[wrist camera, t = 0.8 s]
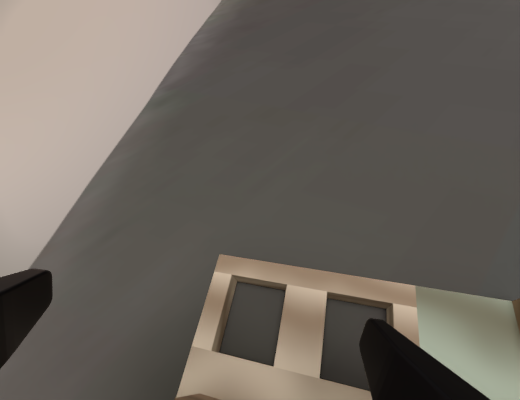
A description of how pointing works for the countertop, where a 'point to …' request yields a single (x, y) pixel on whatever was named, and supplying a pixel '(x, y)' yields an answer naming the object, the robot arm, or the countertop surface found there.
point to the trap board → (312, 329)
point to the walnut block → (196, 397)
